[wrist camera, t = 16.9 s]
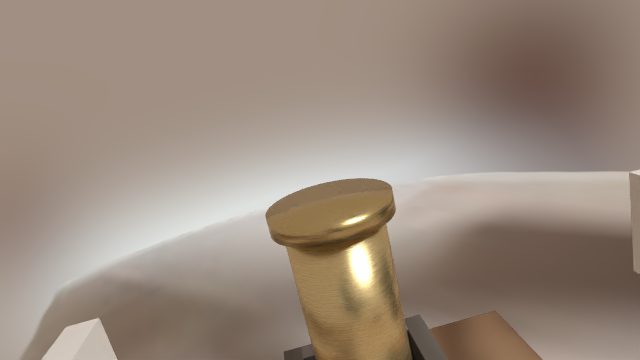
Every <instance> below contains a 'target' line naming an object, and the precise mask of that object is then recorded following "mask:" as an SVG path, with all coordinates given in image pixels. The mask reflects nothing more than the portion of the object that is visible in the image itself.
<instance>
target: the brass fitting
mask: <svg viewBox="0 0 640 360" xmlns="http://www.w3.org/2000/svg"><path fill="white" fill-rule="evenodd" d="M395 211H396V208H395V202H394V197H393V191H392V187H391V186H390V185H389V184H388V183H386V182H384V181H381V180H376V179H365V178H364V179H363V178H362V179H361V178H359V179H345V180H338V181H332V182H327V183H323V184H318V185H315V186H311V187H308V188H305V189H302V190H300V191H297V192H295V193H292V194H290V195H288V196H286V197H284V198H282V199H280V200H279V201H277V202H276V203H274V204H273V205H272V206H271V207H270V208H269V209H268V210H267V212H266V220H267V224H268V227H269V231H270V235H271V238H272V239H273V240H274V241H275V242H276V243H278V244H280V245H283V246H286V248H287V252H288V256H289V259H290V263H291V267H292V271H293V275H294V278H295V282H296V286H297V290H298V294H299V297H300V301H301V305H302V309H303V313H304V316H305V320H306V324H307V328H308V332H309V336H310V339H311V343H312V347H313V351H314V355H315V358H316V360H412V355H411V350H410V345H409V340H408V335H407V329H406V324H405V319H404V314H403V309H402V303H401V298H400V293H399V288H398V283H397V278H396V272H395V267H394V262H393V257H392V252H391V246H390V241H389V236H388V231H387V226H386V223H388V222H389V221H390V220H391V219H392V217H393V216H394V214H395Z"/></svg>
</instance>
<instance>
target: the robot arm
mask: <svg viewBox="0 0 640 360" xmlns="http://www.w3.org/2000/svg"><path fill="white" fill-rule="evenodd" d="M629 176H630V199H631V222H632V244H633V267H634V271H635V272H637V273H638V274H640V170H636V171H632V172H629ZM41 360H117V358H116V356H115V353H114V351H113V349H112V346H111V344H110V342H109V339H108V337H107V335H106V332H105V330H104V328H103V325H102V323H101V321H100V319H99V318H97V319H93V320H89V321H86V322H82V323H78V324H75V325H71V326H67V327H65V329H64V330H63V331H62V333H61V334H60V335H59V337H58V338H57V339H56V341H55V342H54V343H53V345H52V346H51V347H50V349H49V350H48V351H47V353H46V354H45V355H44V357H43V358H42V359H41Z"/></svg>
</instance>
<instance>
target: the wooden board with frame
mask: <svg viewBox="0 0 640 360" xmlns="http://www.w3.org/2000/svg"><path fill="white" fill-rule="evenodd" d="M405 324H406V329H407V335H408V340H409V345H410V350H411V355H412V360H542V359H541V358H540V356H539V355H538V354H537V353H536V352H535V351H534V350H533V349H532V348H531V347H530V346H529V345H528V344H527V343H526V342H525V341H524V340H523V339H522V338H521V337H520V336H519V335H518V334H517V333H516V332H515V331H514V330H513V328H512V327H511V326H510V325H509V324H508V323H507V322H506V321H505V320H504V319H503V318H502V317H501V316H500V315H499V314H498V313H497V312H496V311H493V312H490V313H486V314H482V315H479V316H475V317H471V318H468V319H464V320H461V321H457V322H453V323H450V324H446V325H443V326H439V327H435V328H432V329H428V327H427V326H426V324H425V322H424V321H423V319H422V318H421V316H420V315H416V316H413V317H409V318H405ZM284 359H285V360H316V358H315V355H314V351H313V347H312V344H311V345H307V346H303V347H300V348H296V349H292V350H289V351H285V352H284Z"/></svg>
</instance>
